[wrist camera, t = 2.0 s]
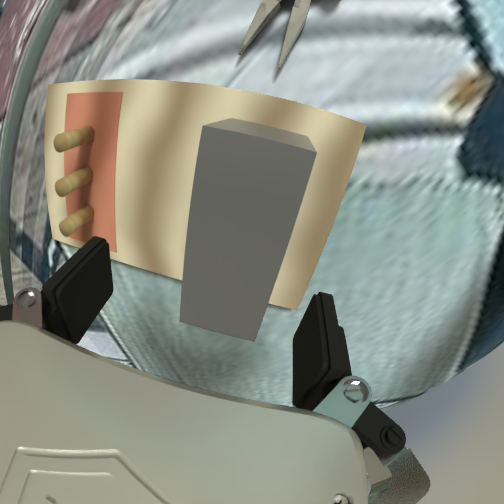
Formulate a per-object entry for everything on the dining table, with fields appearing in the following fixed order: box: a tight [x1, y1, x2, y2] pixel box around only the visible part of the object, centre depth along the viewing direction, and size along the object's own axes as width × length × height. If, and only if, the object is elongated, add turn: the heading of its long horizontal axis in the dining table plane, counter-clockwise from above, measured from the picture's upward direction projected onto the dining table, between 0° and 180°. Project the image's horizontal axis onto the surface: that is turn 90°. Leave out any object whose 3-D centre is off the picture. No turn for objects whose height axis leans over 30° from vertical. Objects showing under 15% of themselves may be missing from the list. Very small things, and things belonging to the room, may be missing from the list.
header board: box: [45, 79, 367, 310], centre depth 18 cm, size 26×16×5 cm, turn 77°
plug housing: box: [180, 118, 317, 341], centre depth 17 cm, size 12×5×6 cm, turn 167°
